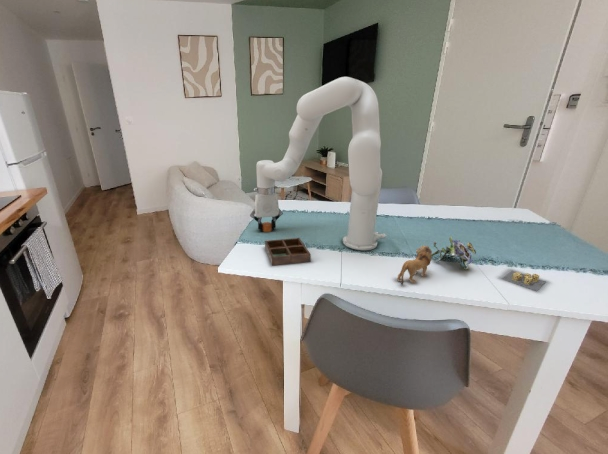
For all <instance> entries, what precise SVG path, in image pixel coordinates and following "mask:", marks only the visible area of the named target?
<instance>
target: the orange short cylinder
mask: <svg viewBox="0 0 608 454" xmlns="http://www.w3.org/2000/svg"><path fill="white" fill-rule="evenodd" d="M272 231H273V230H272V224H271V221H270V222H269V221H265V222H262V231H261V232H263V233H270V232H272Z"/></svg>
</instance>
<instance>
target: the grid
mask: <svg viewBox="0 0 608 454" xmlns="http://www.w3.org/2000/svg"><path fill="white" fill-rule="evenodd" d="M264 249H265V253H266V254H267V256H268V260H269V263H270V264H271V267H273V266H282V265H291V264H301V263H310V262H311V252H310V251H309V249H308V248H307V247H306V245H305V244H304V242H303V241H302V239H301V237H293V238H282V239H281V238H280V239H271V240H265V241H264Z"/></svg>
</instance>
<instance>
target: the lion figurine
mask: <svg viewBox="0 0 608 454" xmlns="http://www.w3.org/2000/svg"><path fill="white" fill-rule="evenodd" d="M432 252H433V251H432V249H431V248H430V247H429V246H428V245H421V246H420V247H419V248H416V249H415V253H416V258H415V259H408V260H406V261H404V263H403V264H402V267H401V270H400V272H399V274H398V275H397V279H396V281H398V282H400V285H401V286H403V285H404V276H405V273H406V271H408V272H407V273H408V274H409V277H408V279H409V281H410V283H412V284H416V280H415V279H414V276H415V275H416V274H417V273H418V271H421V270H422V271H421V273H420V275H421V276H422V277H427V275H426V272H427V270H428V266H430V265H431V262H432V257H433V256H432V254H433V253H432Z"/></svg>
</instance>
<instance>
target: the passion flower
mask: <svg viewBox="0 0 608 454" xmlns="http://www.w3.org/2000/svg"><path fill="white" fill-rule="evenodd" d="M449 242H450V245H449V246H445V247H442V248H441V249H439V248H438V247H437V246H436V244H437V243H436V241H435V242H433V248H435V249H437V250H436V251H435V252H433V253H431V254H432V256H431V257H433V256H436V255H437V254H439V257H438V259H437V261H436V263H439V262H440V261H442V260H445V258H447V257H449V259H451V258H456V259H457V258H459V260H460V262H459V265H460V267H461V269H462V270H463V271H466V270H469V266H468V265H470V264H472V257H473V255H472V253H473V254H475V255H476V254H477V251H476V249H475V248H474V246H473V244H472V243H471V242H468V243H467V245H466V246H465V243H463V242H462V241H461V240H458V239H455V240H454V239H453V236H450V237H449ZM470 252H471V253H470Z"/></svg>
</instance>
